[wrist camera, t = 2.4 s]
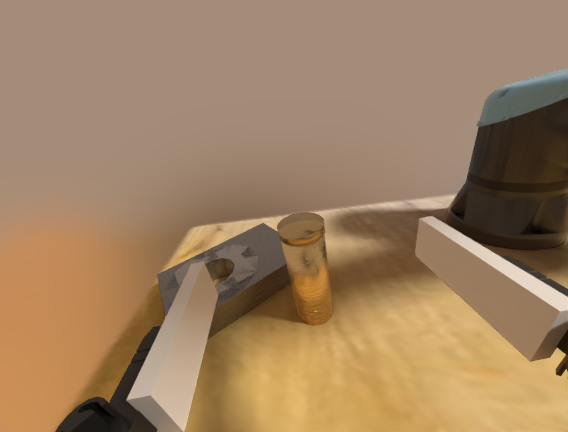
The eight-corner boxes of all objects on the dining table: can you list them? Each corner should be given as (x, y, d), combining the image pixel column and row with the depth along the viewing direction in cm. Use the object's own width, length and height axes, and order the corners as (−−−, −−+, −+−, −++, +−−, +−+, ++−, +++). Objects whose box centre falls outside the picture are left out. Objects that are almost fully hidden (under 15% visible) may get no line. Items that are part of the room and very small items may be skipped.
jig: (267, 237, 48) (263, 222, 47) (310, 268, 37) (307, 250, 35) (166, 291, 39) (156, 274, 37) (183, 355, 27) (169, 336, 25)
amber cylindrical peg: (315, 288, 33) (302, 208, 26) (341, 309, 29) (334, 220, 22) (289, 308, 30) (268, 225, 24) (313, 333, 26) (296, 243, 20)
